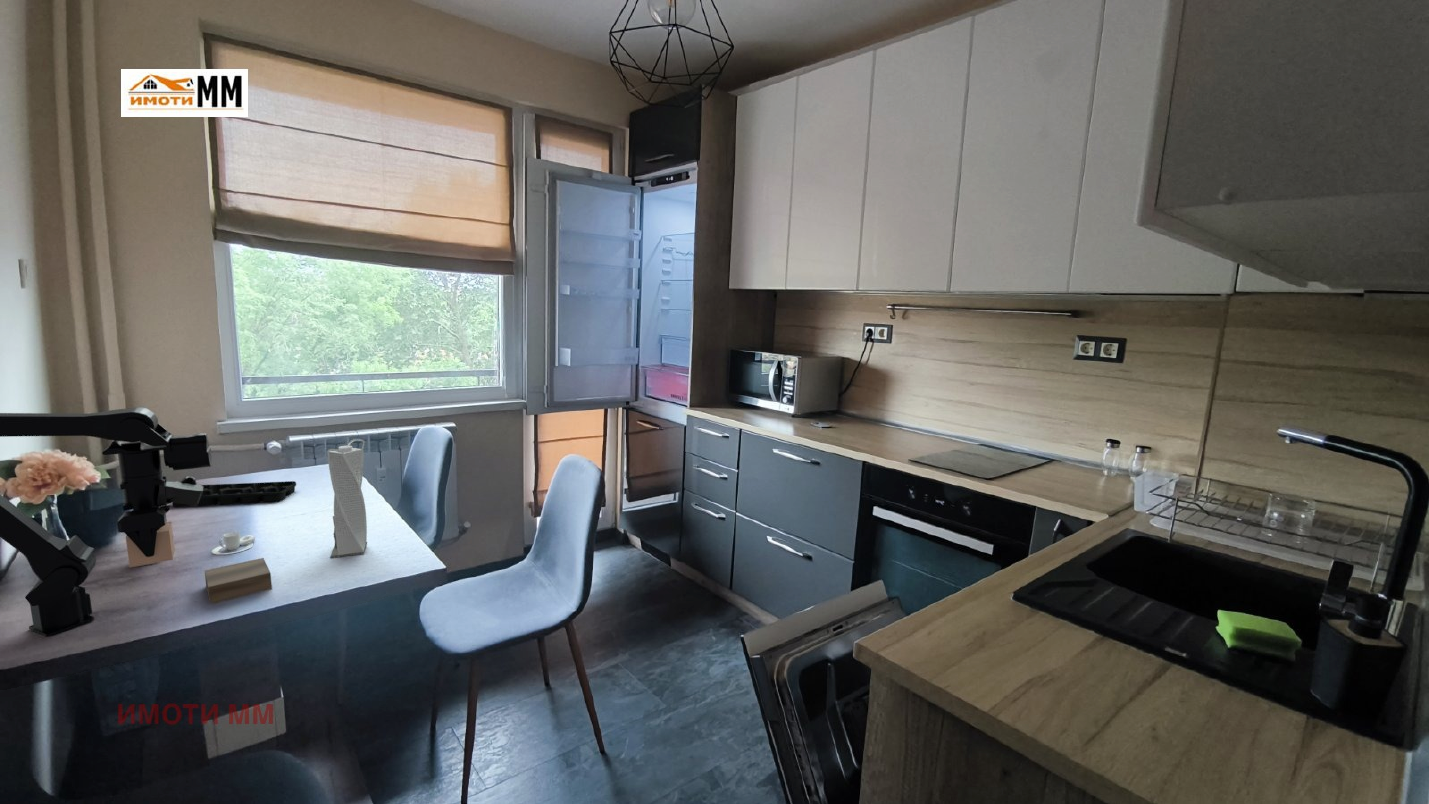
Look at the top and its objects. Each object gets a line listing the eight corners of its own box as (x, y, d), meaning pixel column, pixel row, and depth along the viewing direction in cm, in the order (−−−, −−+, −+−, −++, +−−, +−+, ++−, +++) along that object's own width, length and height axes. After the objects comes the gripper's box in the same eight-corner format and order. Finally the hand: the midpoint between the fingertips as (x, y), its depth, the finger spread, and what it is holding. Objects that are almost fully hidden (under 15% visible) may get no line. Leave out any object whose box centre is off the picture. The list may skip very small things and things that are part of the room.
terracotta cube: (172, 559, 115) (169, 530, 114) (129, 567, 111) (125, 537, 110) (174, 549, 119) (171, 521, 118) (133, 556, 116) (129, 527, 115)
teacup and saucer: (252, 540, 150) (251, 524, 150) (261, 548, 145) (260, 533, 145) (208, 550, 144) (206, 534, 143) (216, 559, 139) (214, 543, 138)
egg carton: (182, 497, 180) (181, 485, 180) (300, 486, 194) (299, 475, 194) (161, 515, 165) (159, 502, 164) (291, 502, 179) (290, 490, 178)
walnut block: (272, 590, 125) (270, 572, 124) (210, 605, 118) (208, 587, 117) (265, 574, 132) (263, 557, 131) (206, 588, 125) (204, 570, 124)
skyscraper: (373, 542, 150) (366, 435, 146) (370, 554, 143) (363, 442, 138) (334, 547, 146) (326, 437, 142) (329, 559, 139) (320, 445, 135)
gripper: (195, 478, 110) (204, 557, 113) (199, 457, 125) (207, 527, 127) (111, 488, 103) (123, 572, 106) (125, 465, 118) (135, 539, 120)
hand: (151, 550), depth 115 cm, fingers closed on terracotta cube, 6 cm apart
